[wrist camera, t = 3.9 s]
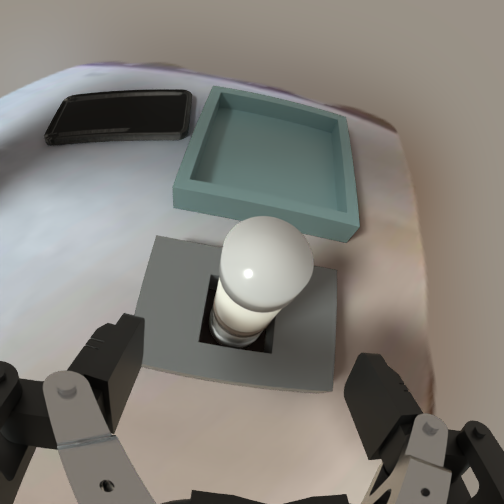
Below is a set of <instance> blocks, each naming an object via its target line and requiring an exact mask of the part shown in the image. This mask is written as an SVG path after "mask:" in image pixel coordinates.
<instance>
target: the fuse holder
mask: <svg viewBox="0 0 504 504" xmlns="http://www.w3.org/2000/svg"><path fill="white" fill-rule="evenodd" d="M222 249H223V248H219V247H214V246H209V245H204V244H199V243H194V242H188V241H183V240H178V239H173V238H168V237H163V236H156V239H155V242H154V245H153V249H152V252H151V255H150V259H149V262H148V266H147V269H146V273H145V276H144V280H143V283H142V287H141V291H140V295H139V298H138V302H137V306H136V310H135V314H134V316H139V317H143V318H144V319H145V331H144V353H143V361H142V365H141V367H144V368H148V369H153V370H157V371H161V372H166V373H171V374H175V375H180V376H185V377H190V378H196V379H201V380H207V381H213V382H219V383H225V384H232V385H239V386H246V387H254V388H262V389H271V390H281V391H292V392H304V393H324V392H331V391H333V377H334V361H335V341H336V311H337V270H334V269H329V268H323V267H318V266H314V267H313V272H312V276H311V278H310V280H309V282H308V283H307V285H306V286H305V287H304V288H303V289H302V291H301V292H300V293H299V294H298V295H297V296H296V297H295V298H294V299H293V300H292V302H290V303H289V304H288V305H287V306H285V307H284V308H282V309H281V310H280V311H279V312H278V314H277V315H276V316H275V317H274V318H273V319H272V321H271V322H270V323H269V324H268V326H267V327H266V336H265V345H264V353H262V352H255V351H248V350H241V349H235V348H229V347H223V346H217V345H212V344H206V343H201V342H199V339H200V334H201V328H202V323H203V317H204V312H205V306H206V301H207V295H208V290H209V289H212V290H217V286H218V281H219V264H220V259H221V254H222Z"/></svg>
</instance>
